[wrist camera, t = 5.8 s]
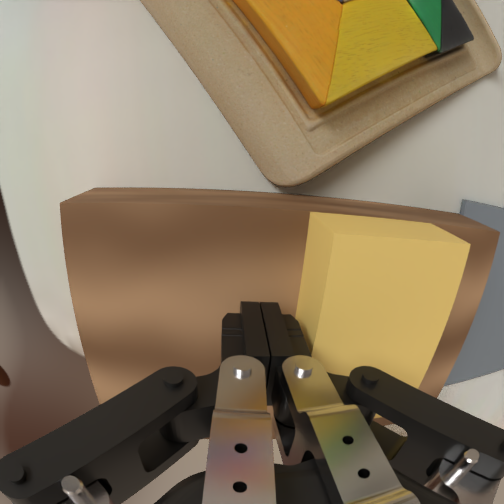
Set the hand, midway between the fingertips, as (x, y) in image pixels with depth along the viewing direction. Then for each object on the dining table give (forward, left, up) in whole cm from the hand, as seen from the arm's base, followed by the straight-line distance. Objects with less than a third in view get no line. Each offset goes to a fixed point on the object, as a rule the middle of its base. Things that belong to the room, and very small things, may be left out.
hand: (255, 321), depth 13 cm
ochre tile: (0, +5, 0) cm, 5 cm away
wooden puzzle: (-17, +4, -6) cm, 18 cm away
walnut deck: (+3, +3, -5) cm, 6 cm away
